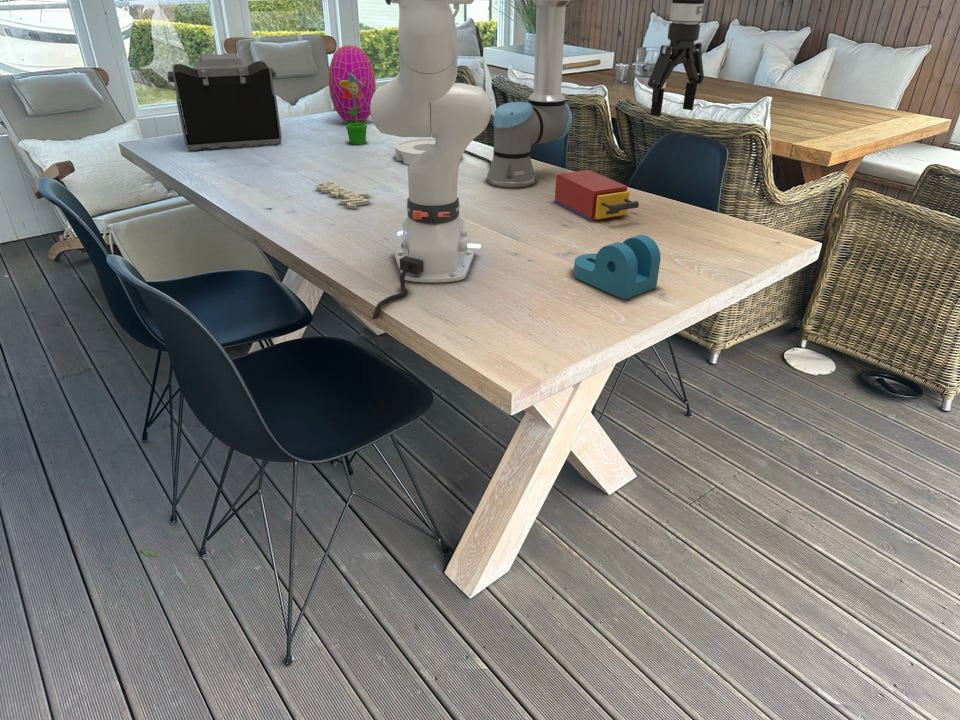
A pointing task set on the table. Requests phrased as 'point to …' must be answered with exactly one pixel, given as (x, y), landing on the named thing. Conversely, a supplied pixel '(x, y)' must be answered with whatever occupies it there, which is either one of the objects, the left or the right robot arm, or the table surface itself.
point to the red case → (583, 191)
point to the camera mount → (621, 267)
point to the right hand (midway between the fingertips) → (671, 112)
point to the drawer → (613, 204)
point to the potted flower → (354, 129)
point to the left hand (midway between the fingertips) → (432, 25)
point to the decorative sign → (344, 194)
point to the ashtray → (412, 149)
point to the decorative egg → (340, 66)
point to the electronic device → (226, 103)
